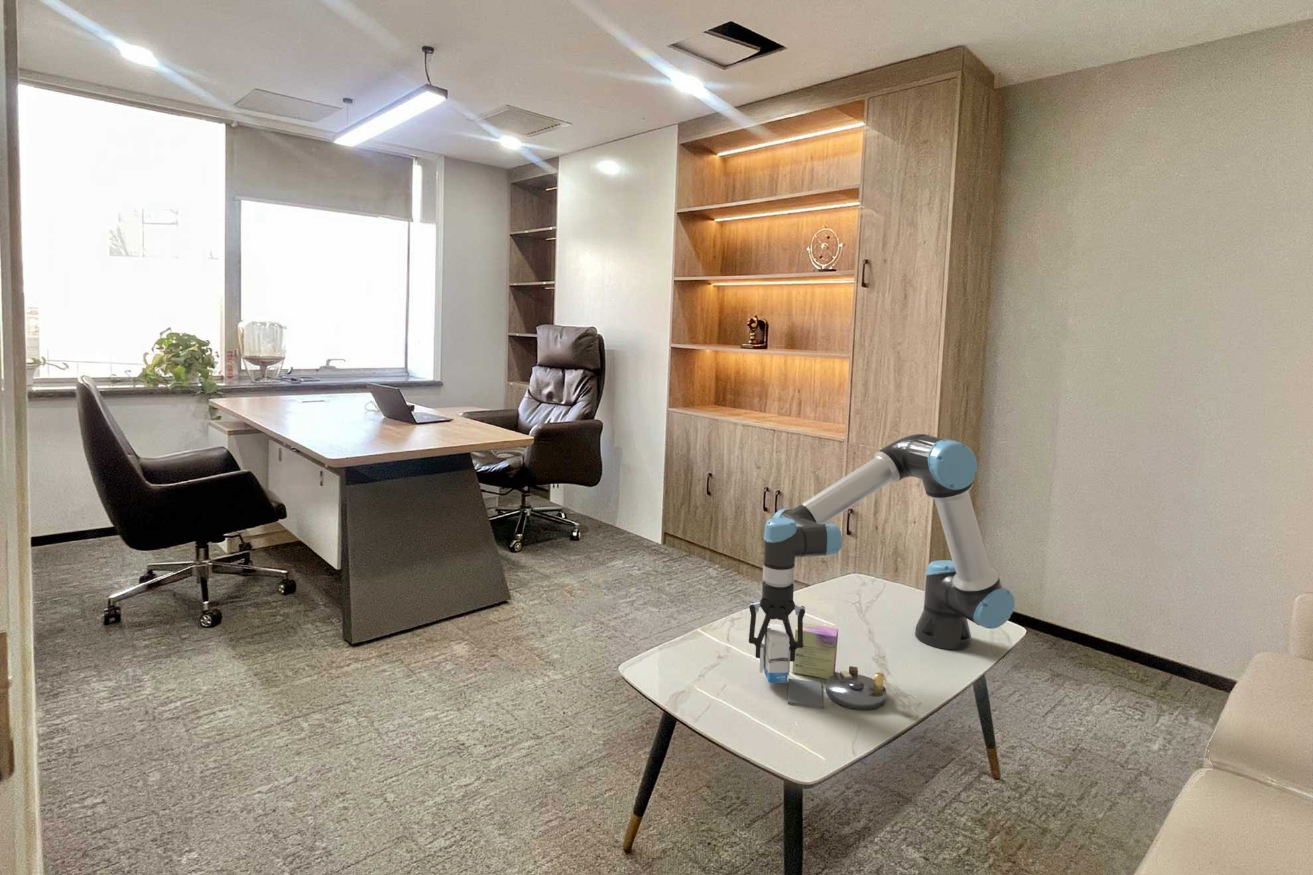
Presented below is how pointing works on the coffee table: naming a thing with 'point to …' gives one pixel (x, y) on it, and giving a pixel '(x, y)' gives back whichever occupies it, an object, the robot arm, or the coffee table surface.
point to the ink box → (776, 653)
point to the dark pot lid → (856, 690)
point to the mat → (805, 693)
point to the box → (816, 651)
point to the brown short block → (853, 670)
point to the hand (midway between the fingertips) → (774, 671)
